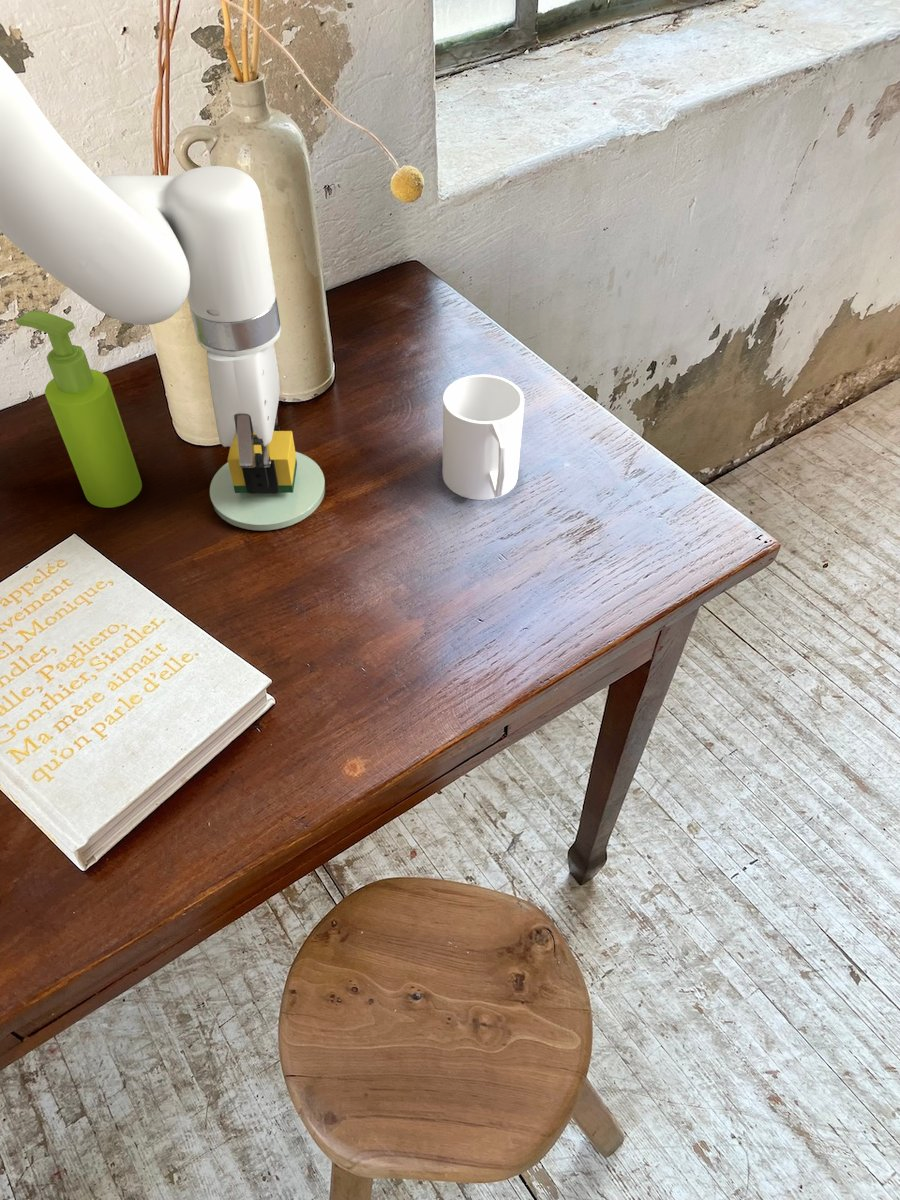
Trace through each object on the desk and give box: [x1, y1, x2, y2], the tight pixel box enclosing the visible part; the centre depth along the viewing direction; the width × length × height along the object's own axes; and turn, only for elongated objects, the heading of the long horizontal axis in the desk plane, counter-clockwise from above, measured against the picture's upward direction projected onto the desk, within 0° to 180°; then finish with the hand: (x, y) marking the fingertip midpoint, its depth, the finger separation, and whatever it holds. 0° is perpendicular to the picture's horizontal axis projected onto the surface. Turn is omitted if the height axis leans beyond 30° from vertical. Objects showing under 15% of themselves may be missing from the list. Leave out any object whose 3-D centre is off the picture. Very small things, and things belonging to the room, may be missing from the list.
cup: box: [442, 373, 525, 501], centre depth 93 cm, size 8×12×10 cm
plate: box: [209, 451, 326, 532], centre depth 95 cm, size 12×12×1 cm
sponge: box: [227, 430, 297, 493], centre depth 93 cm, size 6×4×4 cm
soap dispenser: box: [14, 310, 143, 509], centre depth 89 cm, size 6×7×20 cm
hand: (266, 473), depth 94 cm, fingers closed on sponge, 4 cm apart
